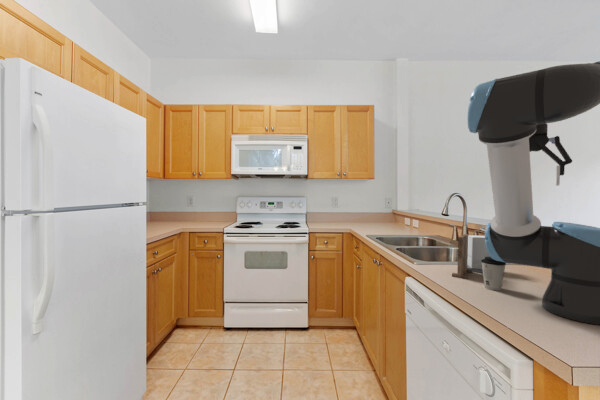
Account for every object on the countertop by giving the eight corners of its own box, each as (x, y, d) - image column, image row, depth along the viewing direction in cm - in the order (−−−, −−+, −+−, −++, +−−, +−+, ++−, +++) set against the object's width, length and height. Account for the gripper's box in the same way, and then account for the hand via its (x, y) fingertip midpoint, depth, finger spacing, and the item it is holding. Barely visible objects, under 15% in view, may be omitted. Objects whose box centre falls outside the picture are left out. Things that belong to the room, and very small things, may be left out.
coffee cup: (485, 290, 93) (485, 259, 93) (477, 284, 100) (477, 255, 100) (509, 292, 92) (510, 261, 91) (499, 285, 98) (500, 256, 98)
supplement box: (492, 270, 114) (493, 238, 114) (471, 268, 116) (472, 237, 116) (486, 265, 121) (486, 235, 121) (466, 264, 123) (467, 234, 123)
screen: (466, 279, 106) (467, 238, 105) (451, 276, 109) (452, 236, 109) (472, 272, 115) (473, 234, 115) (458, 270, 118) (459, 233, 118)
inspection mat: (492, 274, 112) (492, 271, 112) (463, 270, 118) (463, 267, 118) (495, 269, 119) (495, 266, 119) (467, 265, 126) (467, 262, 126)
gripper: (581, 121, 97) (579, 185, 97) (491, 131, 112) (490, 186, 112) (585, 116, 91) (582, 184, 91) (489, 127, 106) (488, 185, 106)
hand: (531, 185), depth 101 cm, fingers open, 13 cm apart
